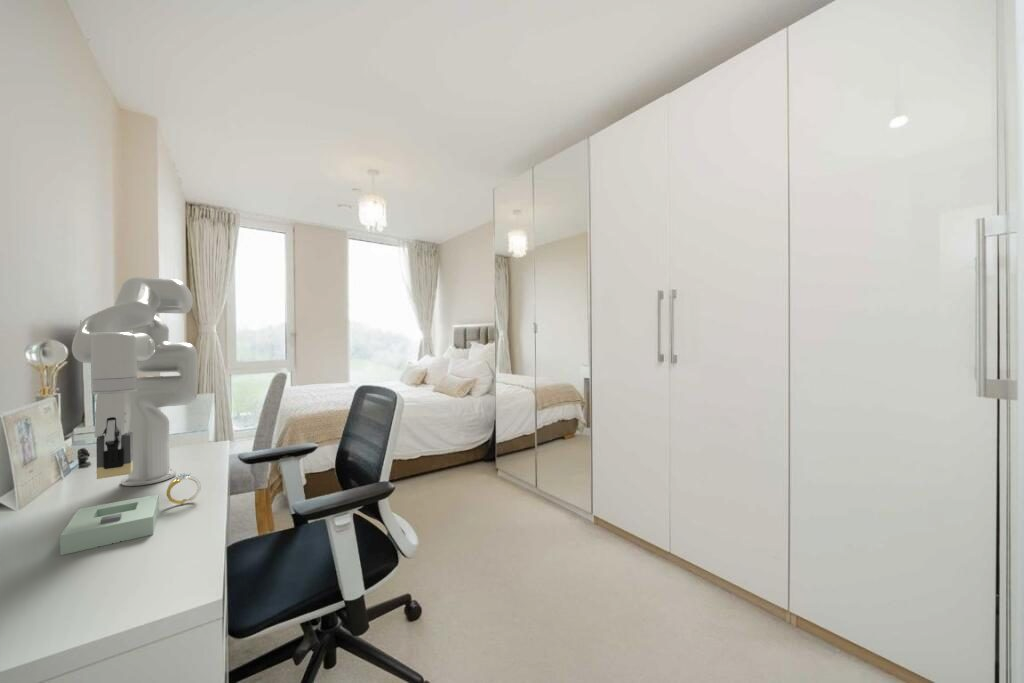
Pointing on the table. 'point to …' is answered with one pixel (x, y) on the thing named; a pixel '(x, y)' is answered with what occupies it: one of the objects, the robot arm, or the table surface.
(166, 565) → the table surface
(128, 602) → the table surface
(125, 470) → the plug
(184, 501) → the ring
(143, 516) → the socket
